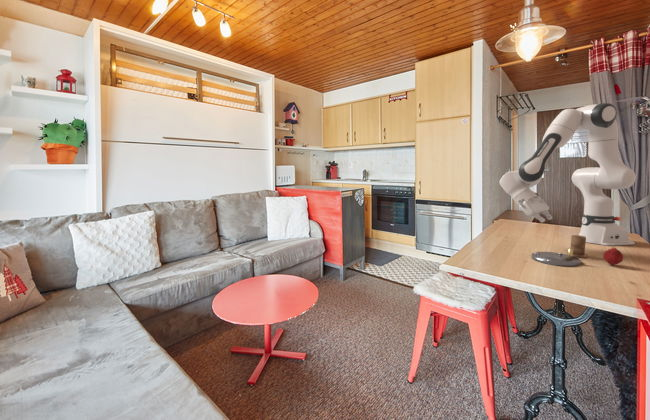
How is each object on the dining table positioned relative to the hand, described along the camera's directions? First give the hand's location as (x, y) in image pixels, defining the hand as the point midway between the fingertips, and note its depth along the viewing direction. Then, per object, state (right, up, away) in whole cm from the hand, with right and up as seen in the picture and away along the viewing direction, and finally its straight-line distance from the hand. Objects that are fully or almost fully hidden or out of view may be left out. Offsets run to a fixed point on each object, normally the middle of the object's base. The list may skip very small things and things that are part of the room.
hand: (547, 220), depth 142 cm
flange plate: (-6, -17, -12) cm, 22 cm away
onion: (+11, -18, -21) cm, 30 cm away
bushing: (+8, -16, -8) cm, 19 cm away
